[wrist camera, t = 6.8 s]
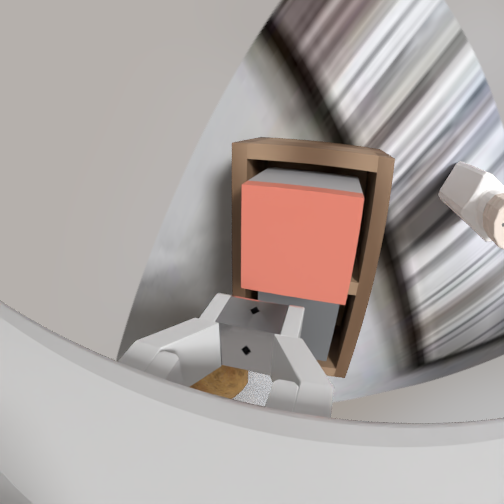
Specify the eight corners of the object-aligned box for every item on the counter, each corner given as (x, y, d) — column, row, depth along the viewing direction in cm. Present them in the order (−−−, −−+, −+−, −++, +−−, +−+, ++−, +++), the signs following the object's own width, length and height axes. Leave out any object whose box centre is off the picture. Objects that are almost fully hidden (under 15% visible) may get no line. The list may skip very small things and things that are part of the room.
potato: (157, 341, 39) (126, 379, 32) (220, 300, 32) (188, 347, 25) (204, 386, 40) (181, 427, 33) (276, 358, 34) (258, 410, 27)
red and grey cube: (357, 176, 18) (364, 198, 13) (346, 258, 21) (345, 304, 16) (269, 167, 20) (241, 184, 15) (266, 247, 22) (241, 287, 17)
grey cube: (342, 264, 25) (339, 302, 20) (331, 318, 28) (326, 361, 23) (276, 255, 27) (258, 289, 22) (272, 308, 29) (255, 348, 24)
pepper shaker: (456, 157, 19) (511, 179, 11) (486, 185, 19) (543, 219, 11) (433, 194, 21) (476, 233, 13) (463, 220, 21) (510, 268, 13)
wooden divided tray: (380, 149, 21) (394, 158, 15) (348, 328, 29) (344, 377, 23) (260, 137, 24) (232, 142, 18) (255, 313, 32) (233, 357, 25)
